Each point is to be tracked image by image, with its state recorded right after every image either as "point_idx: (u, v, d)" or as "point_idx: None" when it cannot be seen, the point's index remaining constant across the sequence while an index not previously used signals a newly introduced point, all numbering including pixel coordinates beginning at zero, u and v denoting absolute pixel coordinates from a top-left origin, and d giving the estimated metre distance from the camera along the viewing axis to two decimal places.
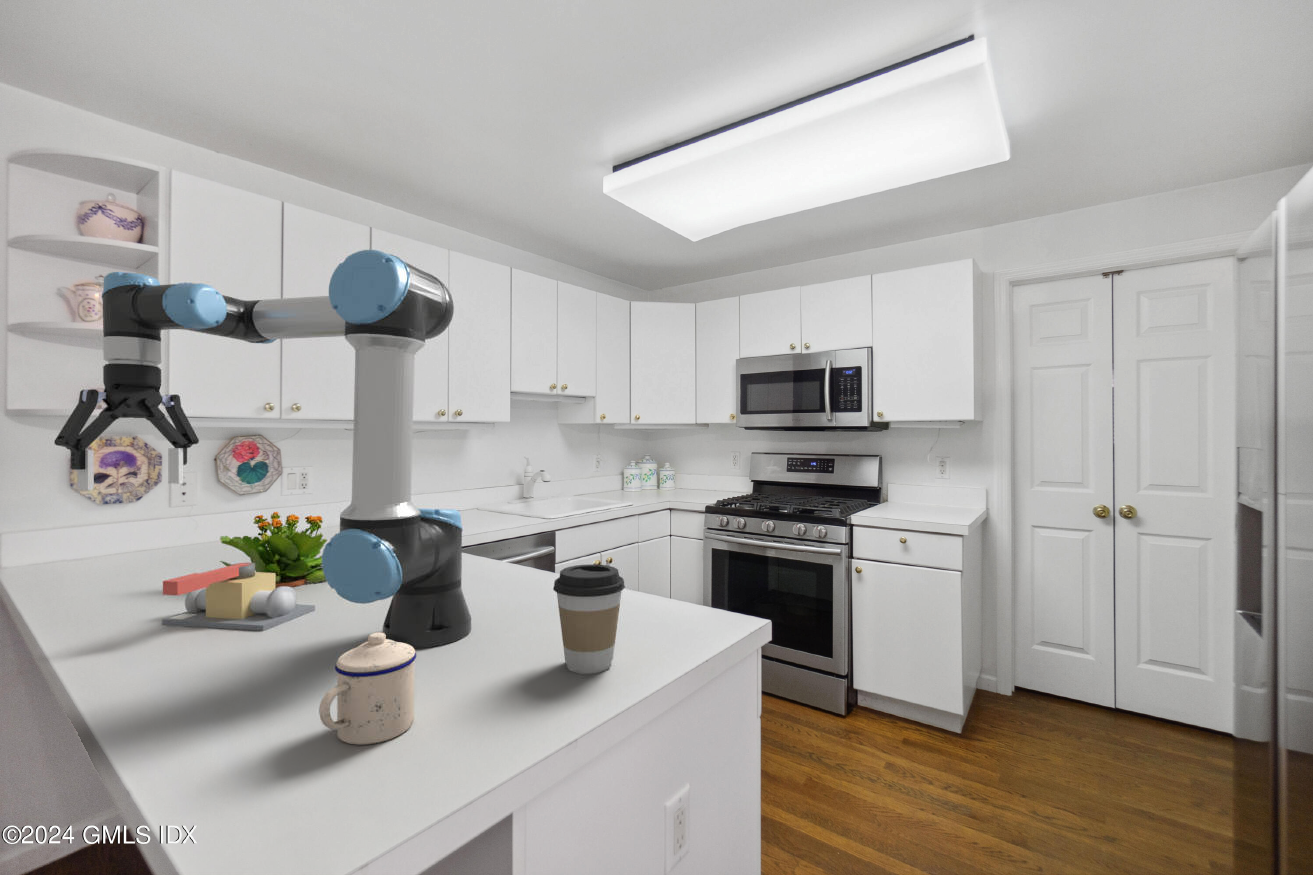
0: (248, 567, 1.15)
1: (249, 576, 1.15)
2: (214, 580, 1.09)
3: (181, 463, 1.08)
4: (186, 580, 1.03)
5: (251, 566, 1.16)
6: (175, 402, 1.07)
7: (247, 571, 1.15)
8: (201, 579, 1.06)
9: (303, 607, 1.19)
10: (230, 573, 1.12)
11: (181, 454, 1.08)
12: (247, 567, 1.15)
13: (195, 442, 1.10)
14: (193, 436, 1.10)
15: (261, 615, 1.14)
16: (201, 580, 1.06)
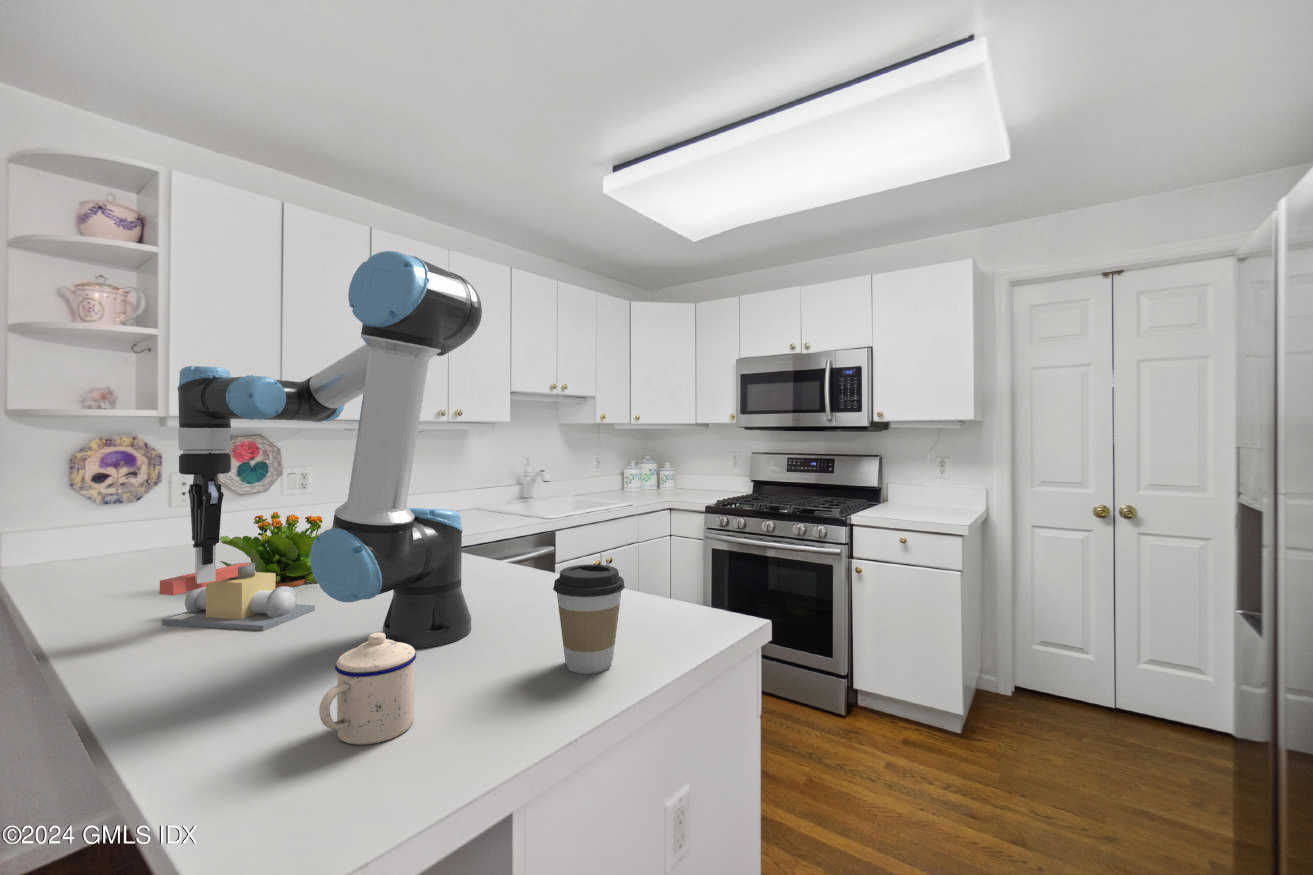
0: (247, 567, 1.15)
1: (248, 576, 1.15)
2: None
3: (196, 562, 1.05)
4: (182, 580, 1.03)
5: (251, 566, 1.16)
6: (204, 499, 1.02)
7: (246, 571, 1.15)
8: None
9: (303, 607, 1.19)
10: (229, 573, 1.12)
11: (196, 553, 1.05)
12: (246, 567, 1.15)
13: None
14: (201, 536, 1.03)
15: (261, 615, 1.14)
16: None
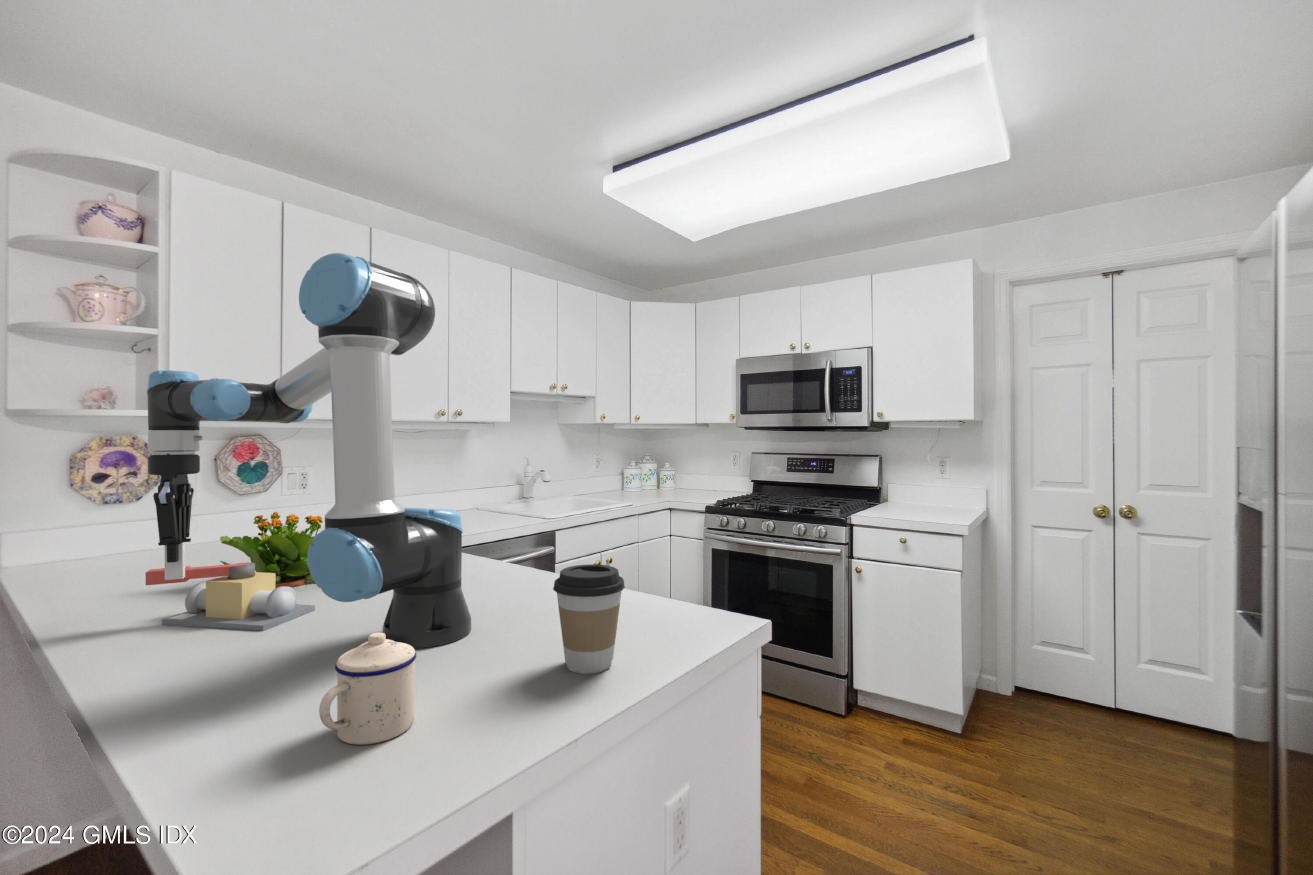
0: (236, 568, 1.14)
1: (237, 578, 1.14)
2: (195, 576, 1.12)
3: None
4: (156, 572, 1.09)
5: (240, 568, 1.14)
6: None
7: (235, 572, 1.14)
8: None
9: (303, 607, 1.19)
10: (217, 572, 1.13)
11: None
12: (235, 568, 1.14)
13: None
14: None
15: (261, 615, 1.14)
16: None
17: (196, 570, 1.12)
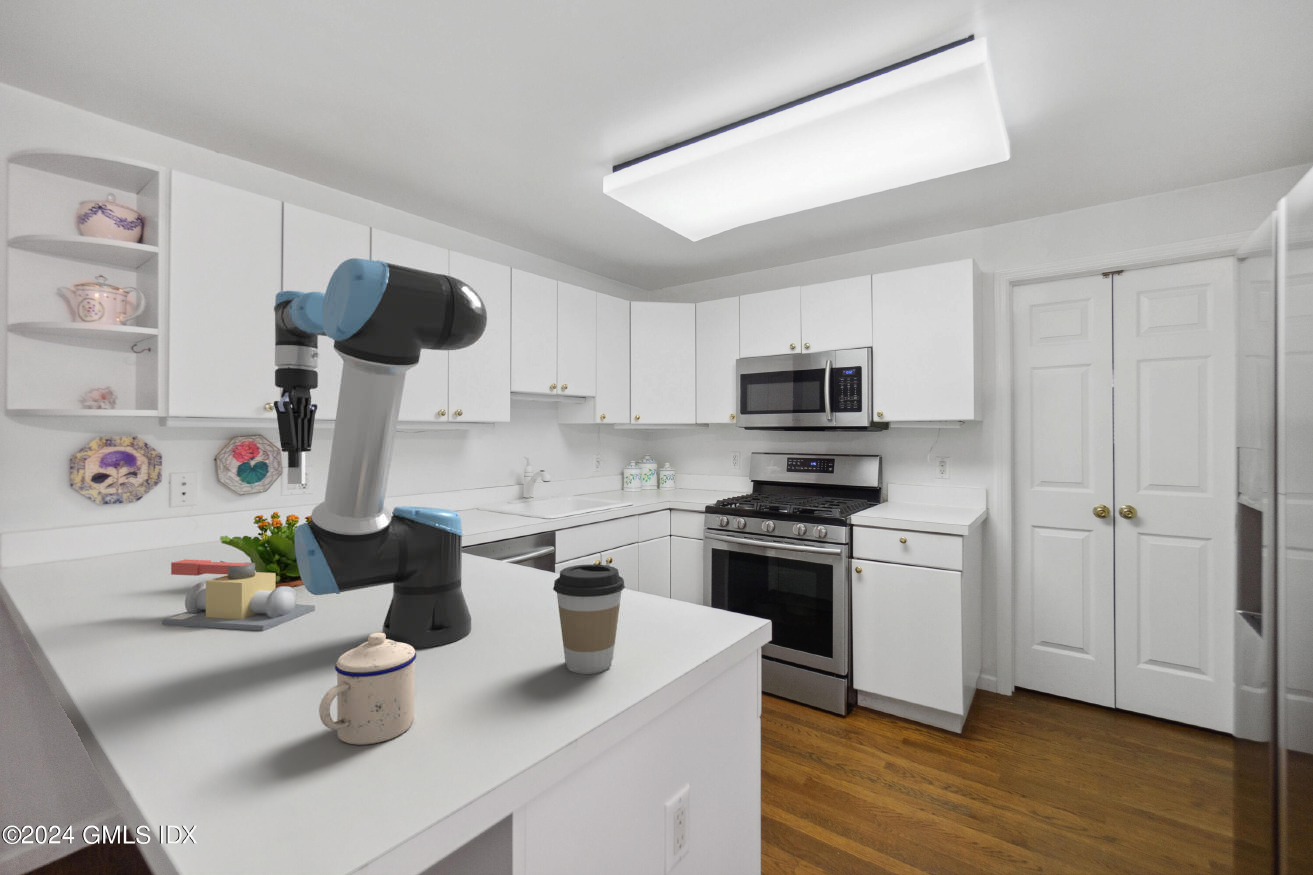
0: (229, 568, 1.14)
1: (230, 578, 1.14)
2: (205, 571, 1.16)
3: None
4: (178, 563, 1.16)
5: (232, 568, 1.14)
6: None
7: (229, 572, 1.14)
8: (190, 566, 1.16)
9: (303, 607, 1.19)
10: (219, 569, 1.15)
11: None
12: (229, 568, 1.14)
13: None
14: None
15: (261, 615, 1.14)
16: (190, 567, 1.16)
17: (205, 565, 1.16)
